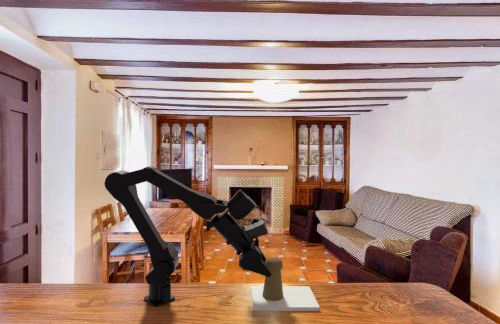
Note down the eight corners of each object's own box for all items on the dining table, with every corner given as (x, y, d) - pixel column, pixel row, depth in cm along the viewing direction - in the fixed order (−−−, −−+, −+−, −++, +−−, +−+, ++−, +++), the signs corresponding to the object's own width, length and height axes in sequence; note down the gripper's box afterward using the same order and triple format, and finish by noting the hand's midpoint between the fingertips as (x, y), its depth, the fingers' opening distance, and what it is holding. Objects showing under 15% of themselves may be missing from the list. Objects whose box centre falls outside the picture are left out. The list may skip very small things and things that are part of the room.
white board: (253, 310, 89) (253, 307, 89) (251, 289, 102) (251, 286, 102) (319, 310, 90) (319, 307, 90) (309, 289, 103) (309, 286, 103)
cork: (282, 302, 92) (283, 263, 92) (260, 299, 94) (261, 261, 93) (284, 292, 98) (285, 256, 98) (264, 290, 100) (265, 254, 99)
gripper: (253, 218, 85) (294, 262, 86) (250, 205, 104) (284, 240, 105) (221, 248, 85) (263, 291, 86) (224, 229, 104) (258, 264, 105)
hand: (268, 269), depth 95 cm, fingers open, 9 cm apart
